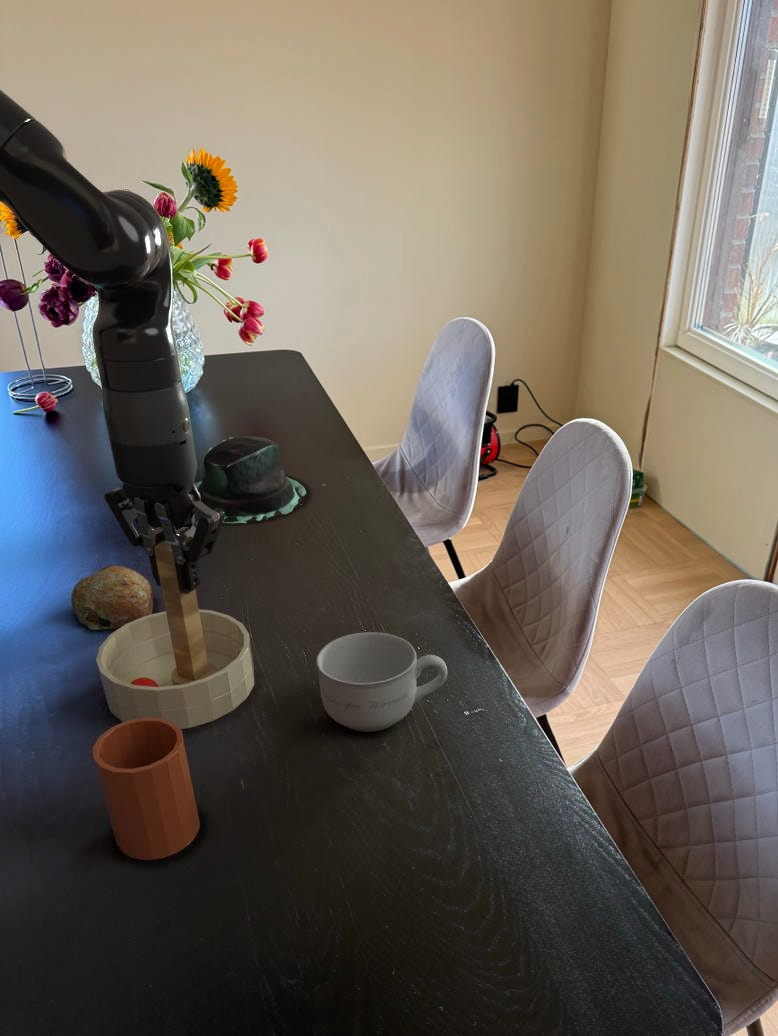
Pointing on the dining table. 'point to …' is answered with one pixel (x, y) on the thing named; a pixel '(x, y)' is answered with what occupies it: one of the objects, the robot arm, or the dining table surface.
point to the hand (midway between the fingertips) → (178, 586)
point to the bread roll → (112, 598)
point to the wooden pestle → (182, 622)
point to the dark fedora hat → (247, 480)
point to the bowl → (152, 656)
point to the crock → (147, 787)
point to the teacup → (373, 679)
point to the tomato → (144, 682)
